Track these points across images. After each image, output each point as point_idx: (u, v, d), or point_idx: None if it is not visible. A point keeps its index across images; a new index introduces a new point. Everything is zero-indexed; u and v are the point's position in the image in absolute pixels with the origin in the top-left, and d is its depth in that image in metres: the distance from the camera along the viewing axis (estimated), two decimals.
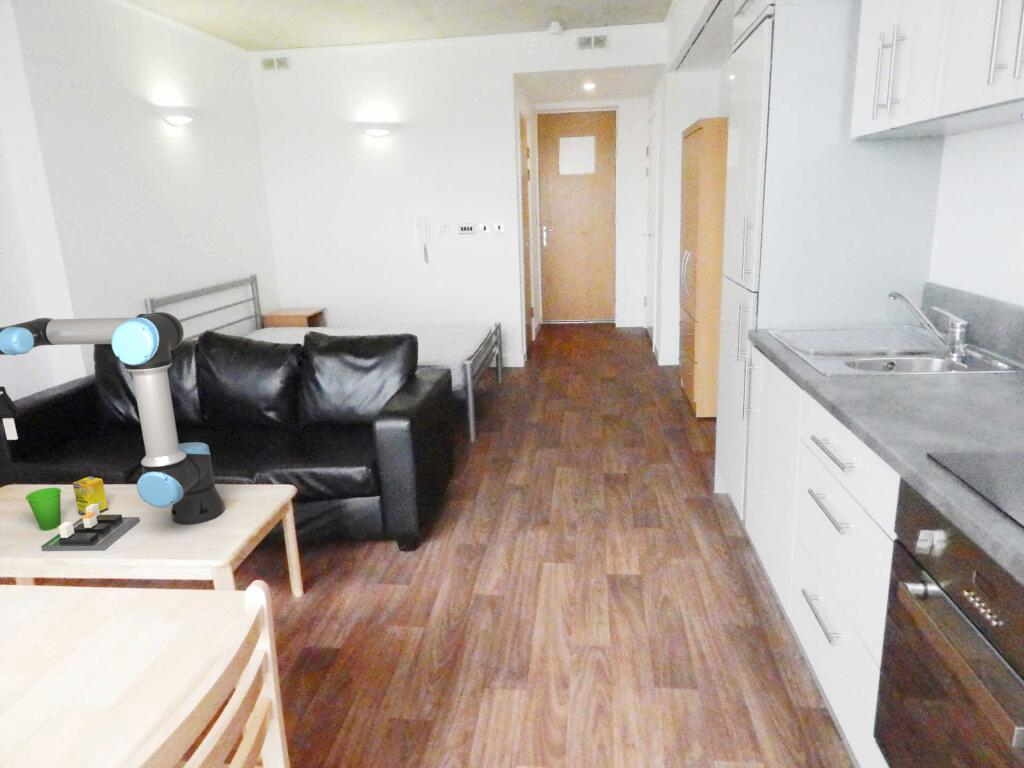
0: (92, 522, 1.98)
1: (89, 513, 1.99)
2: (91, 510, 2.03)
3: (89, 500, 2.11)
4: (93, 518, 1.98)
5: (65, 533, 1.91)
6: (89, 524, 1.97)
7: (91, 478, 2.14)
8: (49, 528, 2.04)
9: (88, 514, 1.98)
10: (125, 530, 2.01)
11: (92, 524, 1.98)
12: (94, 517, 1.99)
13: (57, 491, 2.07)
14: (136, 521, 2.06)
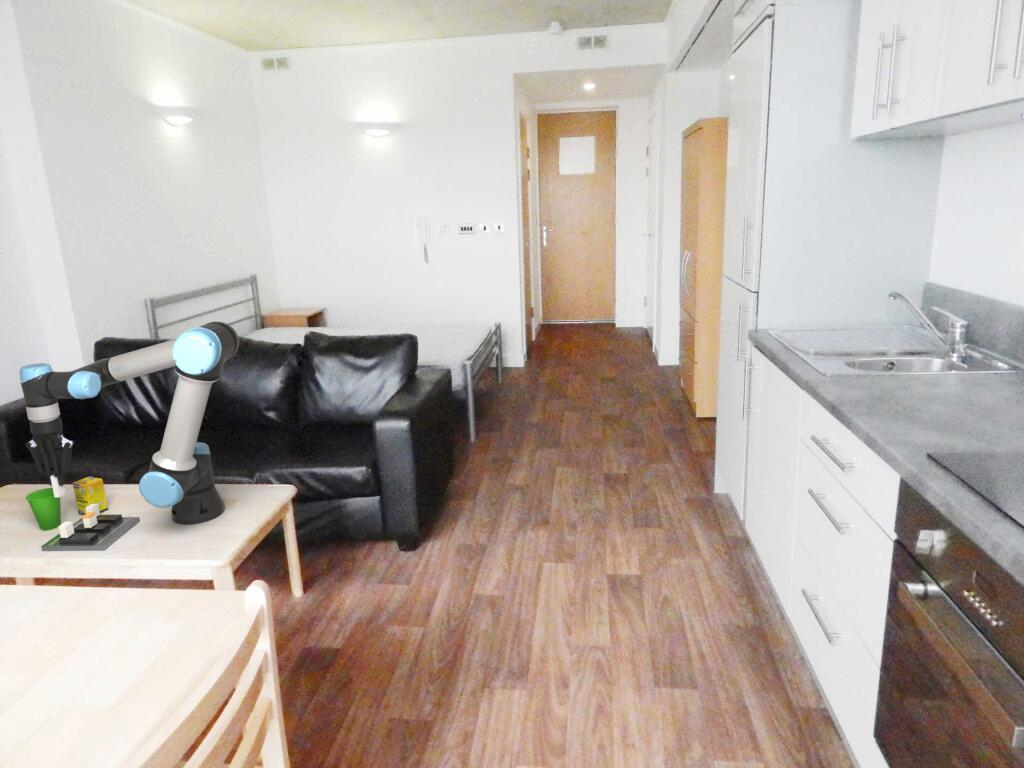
0: (92, 522, 1.98)
1: (89, 513, 1.99)
2: (91, 510, 2.03)
3: (89, 500, 2.11)
4: (93, 518, 1.98)
5: (65, 533, 1.91)
6: (89, 524, 1.97)
7: (91, 478, 2.14)
8: (49, 528, 2.04)
9: (88, 514, 1.98)
10: (125, 530, 2.01)
11: (92, 524, 1.98)
12: (94, 517, 1.99)
13: None
14: (136, 521, 2.06)
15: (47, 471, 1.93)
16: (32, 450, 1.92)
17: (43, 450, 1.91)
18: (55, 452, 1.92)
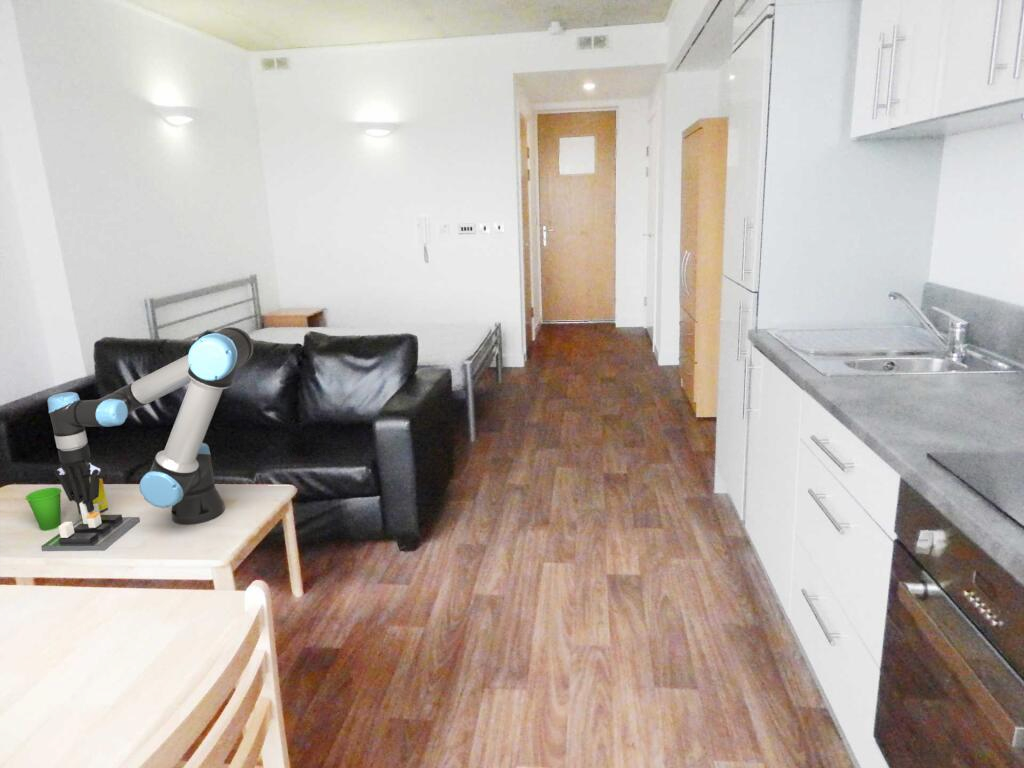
0: (97, 522, 1.98)
1: (93, 513, 1.99)
2: None
3: None
4: (97, 518, 1.98)
5: (65, 533, 1.91)
6: (93, 524, 1.97)
7: None
8: (49, 528, 2.04)
9: (92, 514, 1.98)
10: (125, 530, 2.01)
11: (96, 524, 1.98)
12: (98, 517, 1.99)
13: (57, 491, 2.07)
14: (136, 521, 2.06)
15: (76, 498, 1.95)
16: (61, 478, 1.94)
17: (72, 478, 1.93)
18: (83, 479, 1.94)
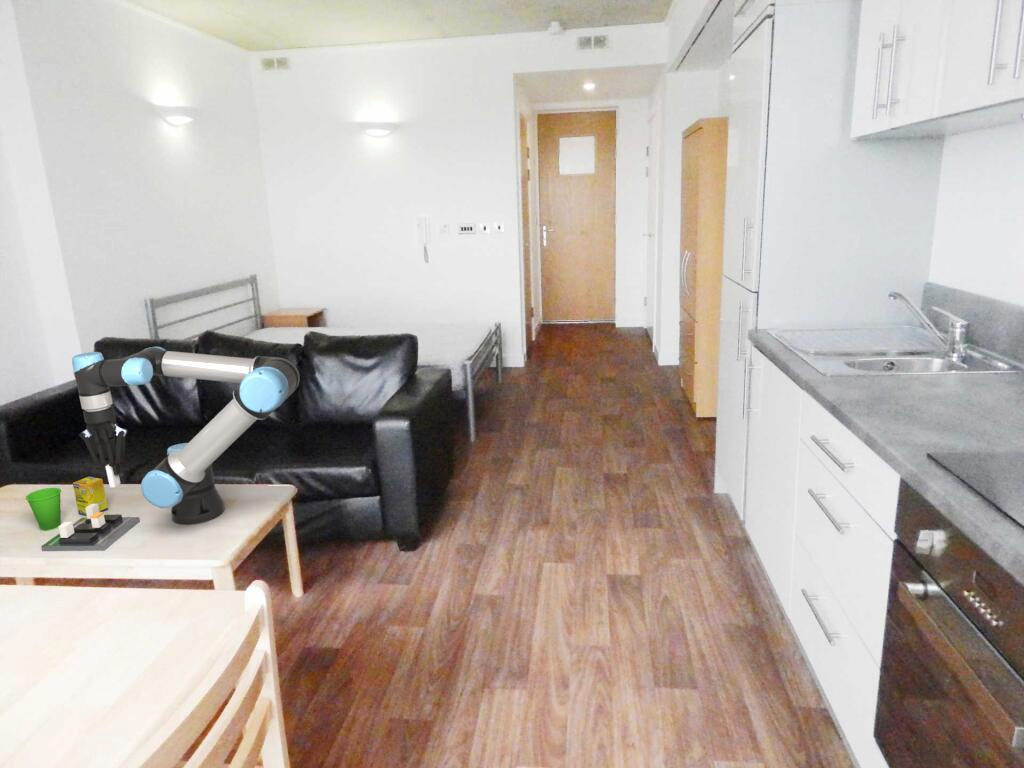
0: (100, 522, 1.98)
1: (97, 513, 1.98)
2: (91, 510, 2.03)
3: (89, 500, 2.11)
4: (101, 518, 1.98)
5: (65, 533, 1.91)
6: (97, 524, 1.97)
7: (91, 478, 2.14)
8: (49, 528, 2.04)
9: (96, 514, 1.98)
10: (125, 530, 2.01)
11: (100, 524, 1.98)
12: (102, 517, 1.99)
13: (57, 491, 2.07)
14: (136, 521, 2.06)
15: (102, 461, 1.92)
16: (86, 440, 1.91)
17: (97, 440, 1.90)
18: (109, 441, 1.91)
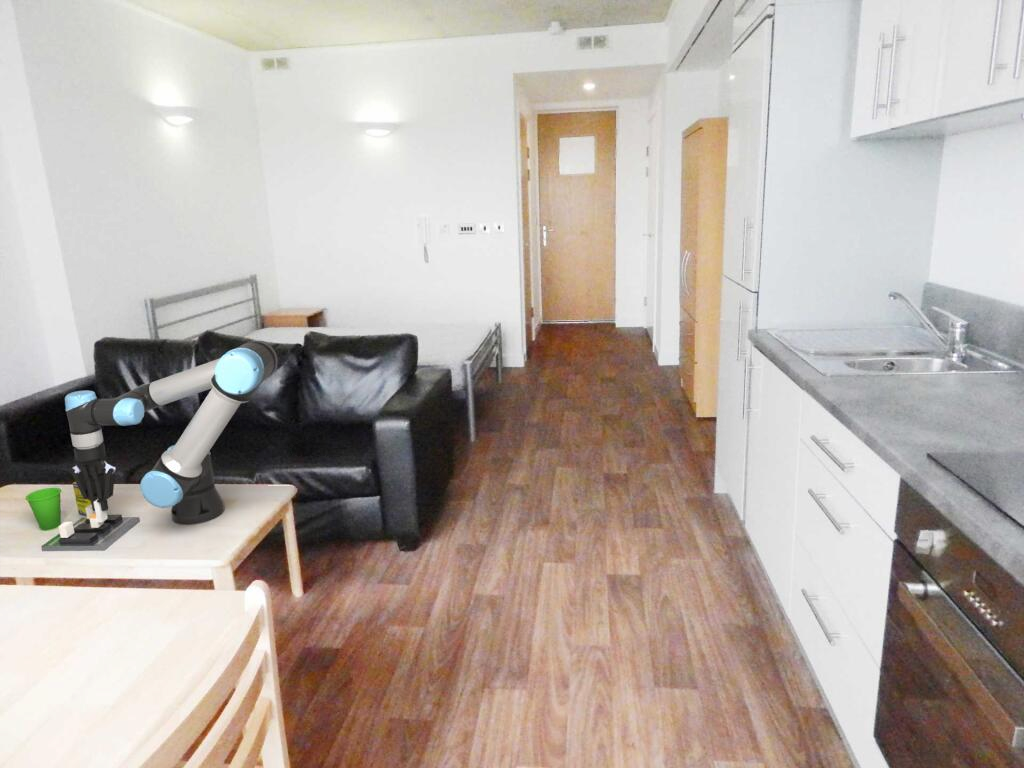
0: (99, 522, 1.98)
1: None
2: (91, 510, 2.03)
3: (89, 500, 2.11)
4: None
5: (65, 533, 1.91)
6: (96, 524, 1.97)
7: None
8: (49, 528, 2.04)
9: (95, 514, 1.98)
10: (125, 530, 2.01)
11: (99, 524, 1.98)
12: None
13: (57, 491, 2.07)
14: (136, 521, 2.06)
15: (90, 497, 1.95)
16: (76, 476, 1.94)
17: (87, 476, 1.93)
18: (98, 478, 1.94)
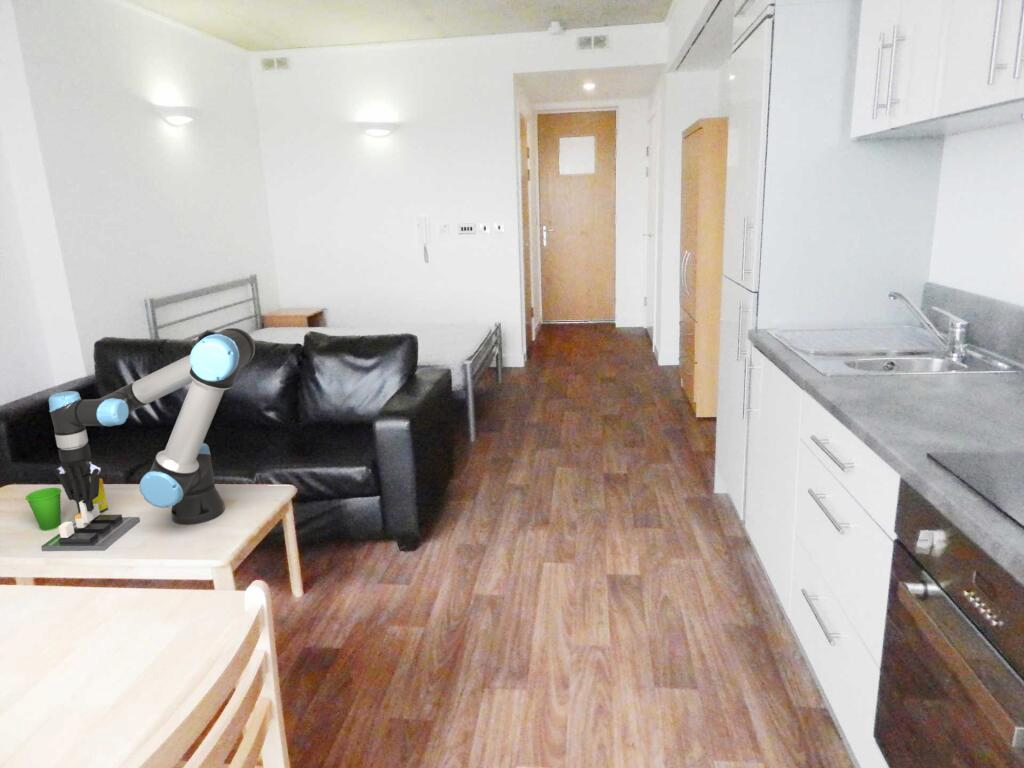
0: None
1: None
2: None
3: None
4: None
5: (65, 533, 1.91)
6: (81, 524, 1.97)
7: None
8: (49, 528, 2.04)
9: None
10: (125, 530, 2.01)
11: (85, 524, 1.98)
12: None
13: (57, 491, 2.07)
14: (136, 521, 2.06)
15: (76, 497, 1.95)
16: (61, 477, 1.94)
17: (72, 477, 1.93)
18: (84, 478, 1.94)
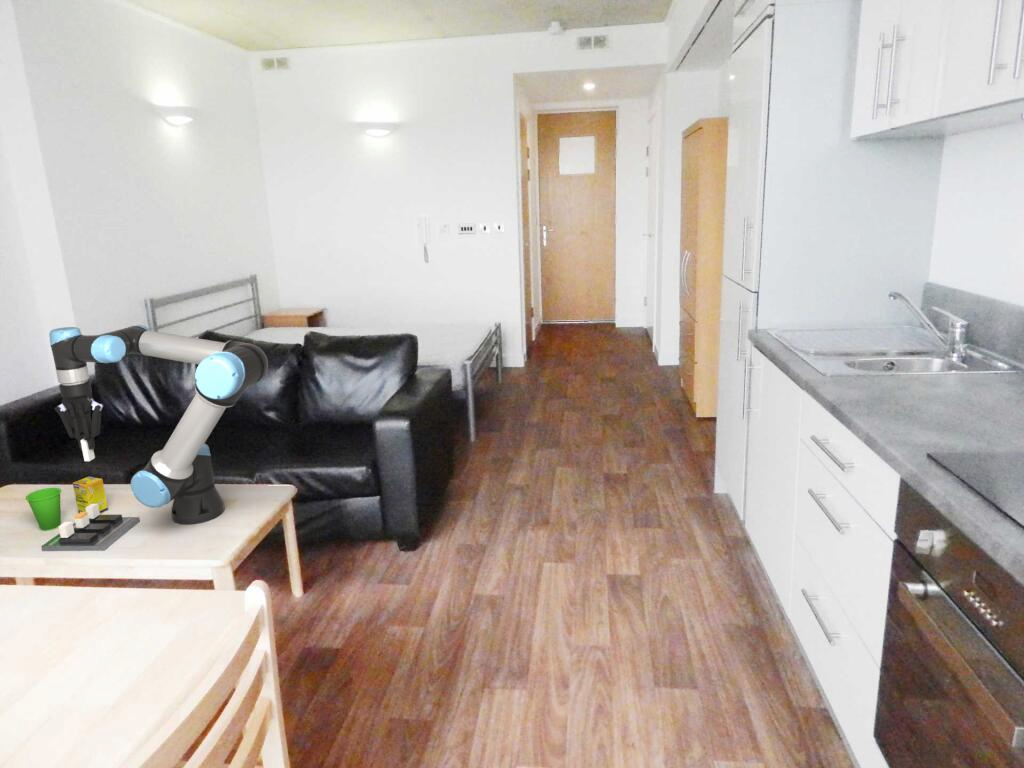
0: (84, 522, 1.98)
1: (81, 513, 1.99)
2: (91, 510, 2.03)
3: (89, 500, 2.11)
4: (85, 518, 1.98)
5: (65, 533, 1.91)
6: (81, 524, 1.97)
7: (91, 478, 2.14)
8: (49, 528, 2.04)
9: (80, 514, 1.98)
10: (125, 530, 2.01)
11: (84, 524, 1.98)
12: (86, 517, 1.99)
13: (57, 491, 2.07)
14: (136, 521, 2.06)
15: (77, 435, 1.95)
16: (62, 414, 1.93)
17: (73, 414, 1.92)
18: (85, 415, 1.93)
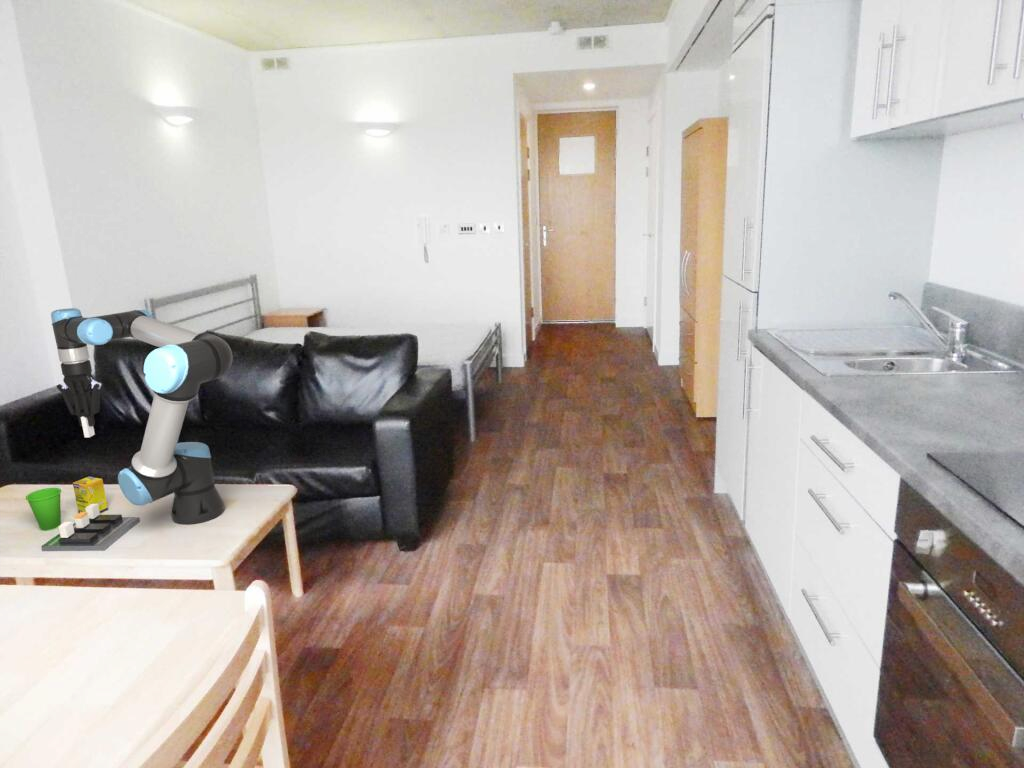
0: (84, 522, 1.98)
1: (81, 513, 1.99)
2: (91, 510, 2.03)
3: (89, 500, 2.11)
4: (85, 518, 1.98)
5: (65, 533, 1.91)
6: (81, 524, 1.97)
7: (91, 478, 2.14)
8: (49, 528, 2.04)
9: (80, 514, 1.98)
10: (125, 530, 2.01)
11: (84, 524, 1.98)
12: (86, 517, 1.99)
13: (57, 491, 2.07)
14: (136, 521, 2.06)
15: (77, 412, 2.03)
16: (63, 392, 2.02)
17: (74, 391, 2.01)
18: (85, 393, 2.02)
